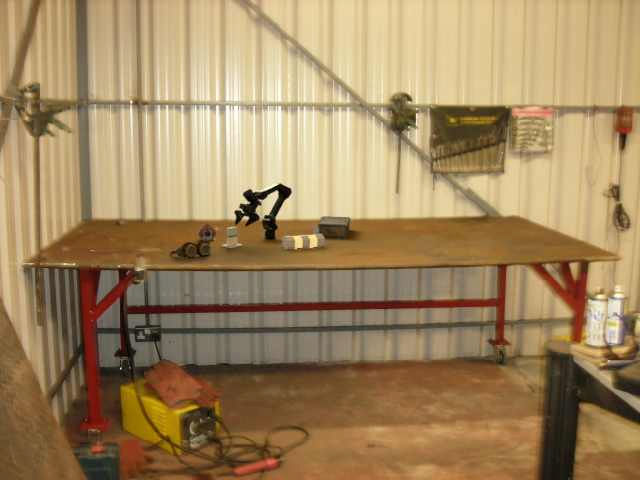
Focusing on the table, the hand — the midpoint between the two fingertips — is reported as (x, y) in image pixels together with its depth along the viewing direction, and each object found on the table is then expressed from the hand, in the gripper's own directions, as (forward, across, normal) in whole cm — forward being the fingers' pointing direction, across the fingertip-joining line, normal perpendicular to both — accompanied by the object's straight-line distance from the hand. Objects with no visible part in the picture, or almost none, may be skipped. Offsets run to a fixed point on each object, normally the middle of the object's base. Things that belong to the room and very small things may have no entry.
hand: (240, 225), depth 420 cm
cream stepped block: (+14, 0, +4) cm, 14 cm away
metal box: (-42, +21, +59) cm, 75 cm away
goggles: (+36, 0, -18) cm, 41 cm away
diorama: (-6, +35, +24) cm, 43 cm away
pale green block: (+9, 0, -1) cm, 9 cm away
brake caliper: (+12, -27, +6) cm, 30 cm away
